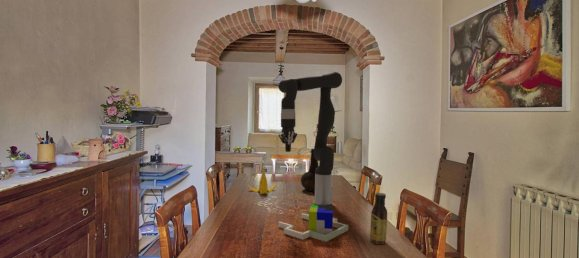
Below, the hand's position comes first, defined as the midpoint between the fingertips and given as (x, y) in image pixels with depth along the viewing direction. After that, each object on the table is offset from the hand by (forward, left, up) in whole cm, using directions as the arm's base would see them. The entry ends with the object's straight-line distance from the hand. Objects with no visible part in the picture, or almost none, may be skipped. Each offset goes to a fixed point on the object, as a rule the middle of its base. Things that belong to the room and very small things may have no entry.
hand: (288, 151), depth 167 cm
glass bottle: (-41, -34, -32) cm, 62 cm away
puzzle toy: (+1, +32, -32) cm, 45 cm away
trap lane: (+2, +26, -31) cm, 41 cm away
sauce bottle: (-12, +52, -32) cm, 62 cm away
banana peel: (-10, -44, -32) cm, 55 cm away
